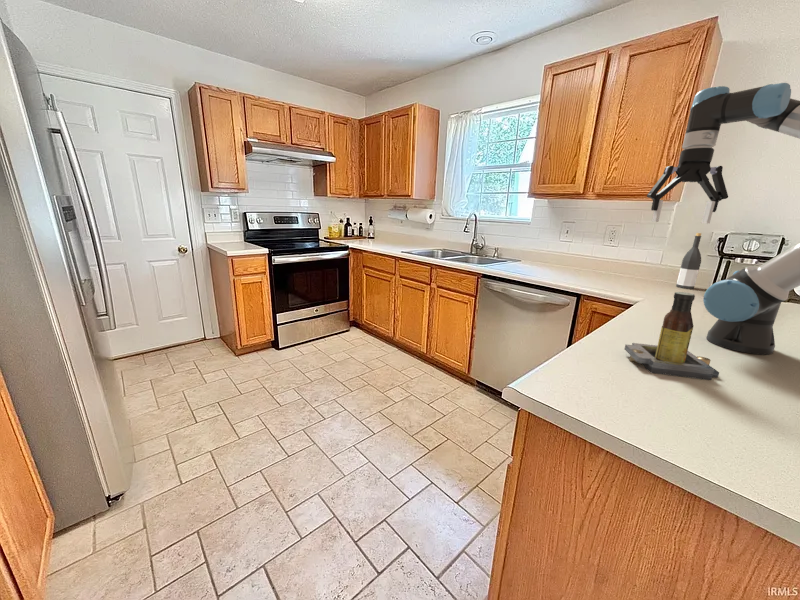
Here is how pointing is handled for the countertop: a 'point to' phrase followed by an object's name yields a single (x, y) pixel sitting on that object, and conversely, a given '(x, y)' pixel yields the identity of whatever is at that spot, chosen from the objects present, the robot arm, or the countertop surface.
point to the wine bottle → (690, 266)
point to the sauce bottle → (676, 330)
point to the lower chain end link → (682, 373)
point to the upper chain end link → (642, 356)
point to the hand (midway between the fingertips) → (679, 222)
